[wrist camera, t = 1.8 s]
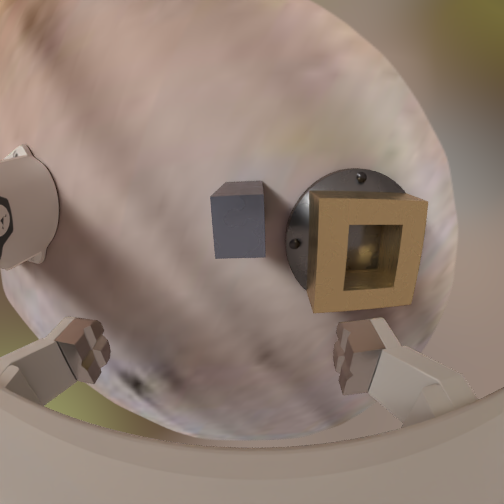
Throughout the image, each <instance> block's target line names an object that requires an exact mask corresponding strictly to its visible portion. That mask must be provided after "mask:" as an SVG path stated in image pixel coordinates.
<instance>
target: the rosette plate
mask: <svg viewBox="0 0 504 504" xmlns="http://www.w3.org/2000/svg"><path fill="white" fill-rule="evenodd" d="M427 208H428V201H425V200H423V199H420V198H417V197H415V196H412V195H409V194H406V193H405V192H404V190H403V189H402V188H401V187H400V186H399V185H398V184H397V183H396V182H395V181H393V180H392V179H390V178H389V177H387V176H385V175H383V174H381V173H378V172H375V171H371V170H367V169H359V168H351V169H343V170H339V171H336V172H333V173H330V174H328V175H326V176H324V177H322V178H321V179H319V180H318V181H316V182H315V183H313V184H312V185H311V186H310V187H309V188H308V189H307V190H306V191H305V192H304V193H303V194H302V196H301V197H300V198H299V200H298V201H297V203H296V204H295V206H294V208H293V210H292V212H291V215H290V218H289V221H288V225H287V230H286V240H285V242H286V252H287V257H288V261H289V264H290V267H291V270H292V272H293V274H294V276H295V278H296V279H297V281H298V282H299V283H300V285H301V286H302V287H303V288H304V289H305V290H306V291H307V294H308V297H309V300H310V304H311V307H312V310H313V313H325V312H339V311H352V310H363V309H374V308H383V307H393V306H401V305H410V304H411V302H412V297H413V293H414V289H415V284H416V280H417V275H418V270H419V265H420V259H421V253H422V247H423V241H424V234H425V226H426V218H427Z"/></svg>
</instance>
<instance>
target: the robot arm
mask: <svg viewBox="0 0 504 504" xmlns="http://www.w3.org/2000/svg"><path fill="white" fill-rule="evenodd" d="M58 218H59V204H58V196H57V191H56V187H55V184H54V181H53V179H52V177H51V175H50V173H49V171H48V169H47V168H46V167H45V166H44V165H43V164H42V163H41V162H40V161H39V160H37V159H36V158H34V157H33V156H32V154H31V152H30V150H29V148H28V147H27V146H26V145H25V144H24V145H20V146H18V147H17V148H16V149H15V150H13V151H12V152H11V153H10V154H9V155H8V156H7V157H5V158H4V159H3V160H0V268H2V269H5V270H10V269H12V268H14V267H16V266H18V265H20V264H21V263H23V262H25V261H29V262H33V263H36V264H39V263H42V262H43V261H44V259H45V255H46V248H47V246H48V245H49V243H50V242H51V240H52V239H53V237H54V235H55V232H56V229H57V225H58ZM103 332H104V329H103V326H102V324H101V322H99V321H98V320H91V319H84V318H76V317H65V318H64V319H63V320H62V321H61V322H60V323H59V324H58V325H57V326H56V327H55V328H54V329H53V330H52V331H51V333H50V334H49V335H48V336H47V337H46V338H45V339H43V338H42V339H40V340H37V341H35V342H33V343H31V344H29V345H26V346H24V347H22V348H20V349H18V350H15V351H14V352H11V353H9V354H7V355H4V356H2V357H0V504H504V387H503V388H501V389H499V390H497V391H495V392H493V393H491V394H489V395H487V396H485V397H483V398H481V399H478V397H477V396H476V394H475V393H474V392H473V390H472V388H471V387H470V385H469V384H468V382H467V381H466V379H465V378H464V376H463V375H462V374H461V373H459V372H457V371H455V370H453V369H451V368H449V367H447V366H445V365H443V364H441V363H439V362H437V361H435V360H433V359H431V358H429V357H427V356H425V355H423V354H421V353H419V352H417V351H415V350H413V349H411V348H409V347H407V346H401V344H400V343H399V341H398V339H397V338H396V336H395V335H394V333H393V332H392V330H391V329H390V327H389V325H388V324H387V322H386V321H385V319H384V318H382V317H379V318H372V319H367V320H359V321H349V322H339V323H338V325H337V330H336V334H337V337H338V340H337V341H336V342H335V344H334V350H333V361H334V366H335V370H336V371H337V372H338V373H340V376H339V384H340V387H341V390H342V394H343V395H350V394H358V393H365V392H368V394H369V395H371V396H372V397H373V398H374V399H375V400H376V401H378V402H379V403H380V404H381V405H382V406H383V407H385V408H386V409H387V410H388V411H389V412H390V413H392V414H393V415H394V416H395V417H396V418H398V419H399V420H400V421H401V422H402V423H403V425H402V427H401V428H400V429H396V430H392V431H388V432H384V433H380V434H376V435H371V436H366V437H361V438H356V439H350V440H344V441H338V442H331V443H323V444H314V445H305V446H292V447H272V448H236V447H215V446H202V445H192V444H184V443H176V442H169V441H163V440H157V439H152V438H146V437H141V436H137V435H132V434H128V433H124V432H119V431H116V430H112V429H108V428H104V427H101V426H97V425H94V424H90V423H87V422H85V421H81V420H79V419H76V418H73V417H70V416H67V415H64V414H62V413H59V412H57V411H54V410H51V409H49V408H47V407H44V405H46V404H47V403H48V402H50V401H51V400H52V399H54V398H55V397H57V396H58V395H59V394H60V393H62V392H63V391H65V390H66V389H67V388H69V387H70V386H71V385H73V384H74V383H76V382H77V381H81V382H86V383H90V384H95V382H96V380H97V379H98V377H99V376H100V374H101V367H103V366H104V365H106V364H107V362H108V361H109V359H110V353H111V351H110V345H109V342H108V340H107V339H106V338H105V337H104V336H103ZM76 380H77V381H76Z"/></svg>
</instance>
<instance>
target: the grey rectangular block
mask: <svg viewBox="0 0 504 504" xmlns="http://www.w3.org/2000/svg"><path fill="white" fill-rule="evenodd" d="M210 200H211V213H212V225H213V237H214V249H215V259H220V258H256V257H265V220H264V193H263V185H262V181H244V182H225V183H224V184H223V185H222V186H221V187H220V188H219V189H218V190H217V191H216V192H215V193H214V194H213V195H212V196H211V197H210Z"/></svg>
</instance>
